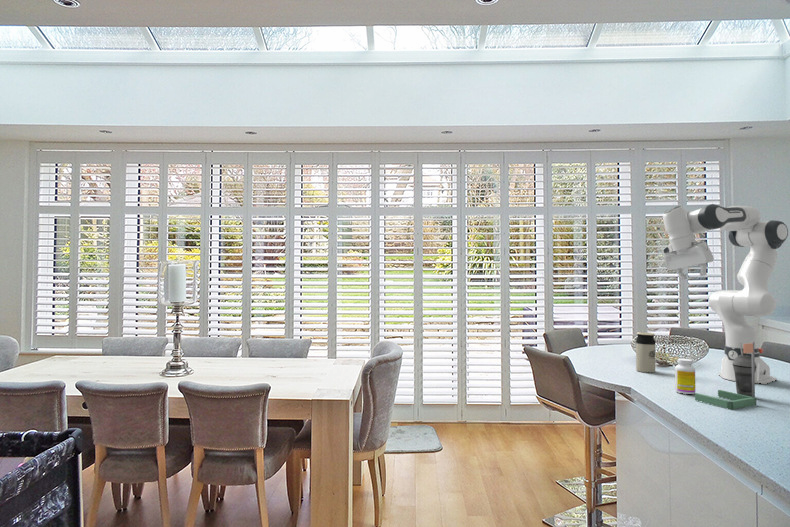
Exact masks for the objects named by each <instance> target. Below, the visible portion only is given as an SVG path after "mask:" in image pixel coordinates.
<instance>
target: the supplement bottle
mask: <svg viewBox="0 0 790 527" xmlns="http://www.w3.org/2000/svg"><path fill="white" fill-rule="evenodd" d="M677 363H678V364H677V365H676V366H675V367H674V385H675V386H674V390H675V392H676V393H677V392H678V394H680V393H683V394H682V395H686V394H693V395H695V393H696V369H695V367H694V366H692V364H693V360H692V359H690V358H677Z"/></svg>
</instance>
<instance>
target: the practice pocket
mask: <svg viewBox="0 0 790 527" xmlns="http://www.w3.org/2000/svg"><path fill="white" fill-rule="evenodd" d="M743 353H752V397H750V396H745V395H741V394H737V392H731V391H727V390H723V389H722V390H721V389H718V390H717V397H715V396H709V395H708V394H707V395H706V394H702V393H696V392H695V394H694V401H695V400H698V401H697V402H699V401H702V402H701V403H703V402H706V403H705V404H707V403H709V404H708V405H711V404H713V405H712V406H715V405H717V406H716V407H719V406H721V407H720V408H722V407H724V409H726V408H728V409H727V410H730V409H732V410H737V408H738V409H743V408H748V407H754V406H757V397H756V383H755V351H754V342H752V343H748V344H743ZM718 396H719V397H718ZM721 397H723V398H721ZM725 398H727V399H725ZM729 399H730V400H729Z"/></svg>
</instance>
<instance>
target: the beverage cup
mask: <svg viewBox="0 0 790 527" xmlns="http://www.w3.org/2000/svg"><path fill="white" fill-rule="evenodd" d="M740 348H741V355H739V356H737V357H736V358H735V359H734V361H733V368H734V372H735V381H734V382H735V389H736V394H741V395H745V396H750V397H752V358H751V357H750V356H748V355H743V351H742V344H741V343H740ZM755 371H756V363H755Z"/></svg>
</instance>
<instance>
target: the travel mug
mask: <svg viewBox="0 0 790 527" xmlns="http://www.w3.org/2000/svg"><path fill="white" fill-rule="evenodd" d="M636 335H637V337H636V339H635V363H636V364H635V369H636V371H637V372H639V371H640V373H644V372H647V373H646V374H652V373H651V372H654V373H655V372H656V340H655V338H654V337H655V335H656V334H655V333H653V332H645V331H644V332H643V331H639V332H636ZM648 372H649V373H648Z"/></svg>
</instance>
